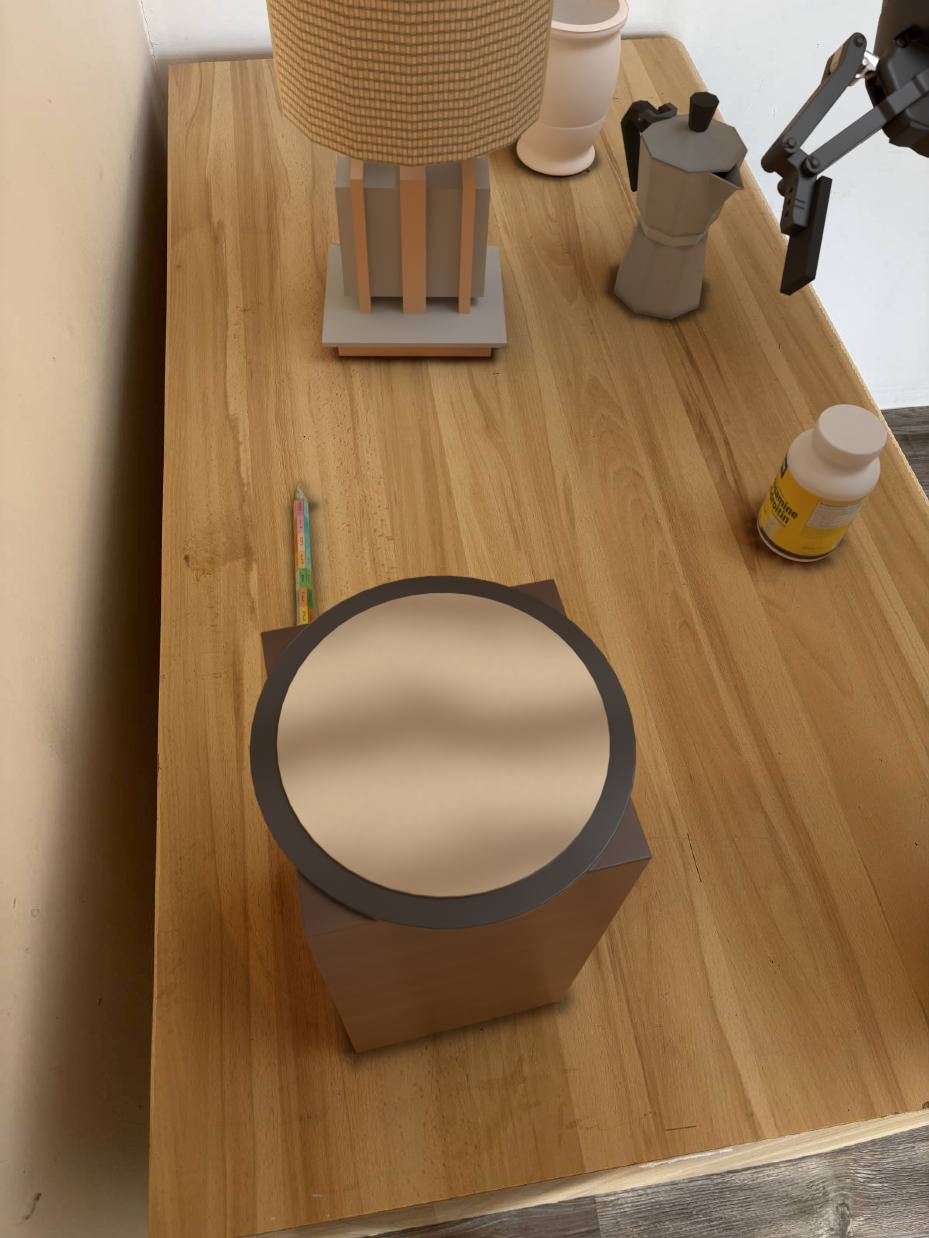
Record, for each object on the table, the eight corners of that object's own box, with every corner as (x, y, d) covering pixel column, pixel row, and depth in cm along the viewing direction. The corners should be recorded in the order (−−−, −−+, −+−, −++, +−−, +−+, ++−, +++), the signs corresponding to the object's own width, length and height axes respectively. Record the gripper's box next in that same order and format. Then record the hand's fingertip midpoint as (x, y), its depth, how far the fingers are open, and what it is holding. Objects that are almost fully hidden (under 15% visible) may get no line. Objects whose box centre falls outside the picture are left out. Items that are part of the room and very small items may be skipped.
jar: (623, 168, 99) (651, 15, 86) (540, 194, 96) (558, 39, 83) (568, 118, 104) (588, -34, 91) (488, 141, 101) (497, -12, 88)
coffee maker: (737, 312, 87) (802, 122, 72) (663, 344, 84) (715, 154, 69) (639, 226, 94) (679, 35, 78) (567, 253, 91) (595, 61, 76)
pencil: (292, 488, 74) (298, 686, 64) (290, 478, 73) (296, 679, 63) (308, 486, 74) (317, 685, 64) (307, 477, 73) (316, 677, 63)
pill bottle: (761, 491, 75) (811, 383, 66) (842, 513, 74) (905, 408, 65) (747, 551, 72) (798, 448, 62) (831, 576, 71) (896, 474, 61)
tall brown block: (582, 1015, 54) (694, 873, 31) (341, 1077, 51) (275, 973, 29) (518, 791, 61) (572, 545, 38) (304, 837, 59) (228, 606, 36)
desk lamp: (300, 389, 80) (226, -100, 50) (313, 245, 90) (257, -229, 61) (528, 389, 81) (587, -91, 51) (514, 247, 91) (556, -220, 62)
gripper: (1047, 107, 68) (1004, 386, 66) (742, -18, 62) (686, 283, 60) (1145, 41, 60) (1100, 352, 58) (809, -108, 55) (748, 231, 53)
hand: (890, 318), depth 59 cm, fingers open, 13 cm apart
